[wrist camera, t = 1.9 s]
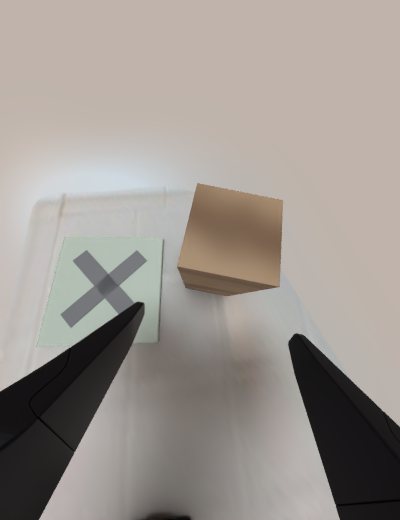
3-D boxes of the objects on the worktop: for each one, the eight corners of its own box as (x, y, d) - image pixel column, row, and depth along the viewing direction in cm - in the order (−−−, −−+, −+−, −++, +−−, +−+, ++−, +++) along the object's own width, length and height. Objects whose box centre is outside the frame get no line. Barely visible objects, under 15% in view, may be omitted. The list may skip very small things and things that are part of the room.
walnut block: (227, 296, 21) (279, 286, 8) (185, 287, 21) (177, 266, 8) (232, 256, 23) (282, 200, 10) (194, 248, 23) (197, 183, 10)
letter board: (158, 341, 19) (156, 342, 18) (42, 344, 18) (34, 347, 17) (163, 240, 23) (162, 237, 22) (68, 239, 22) (63, 236, 21)
